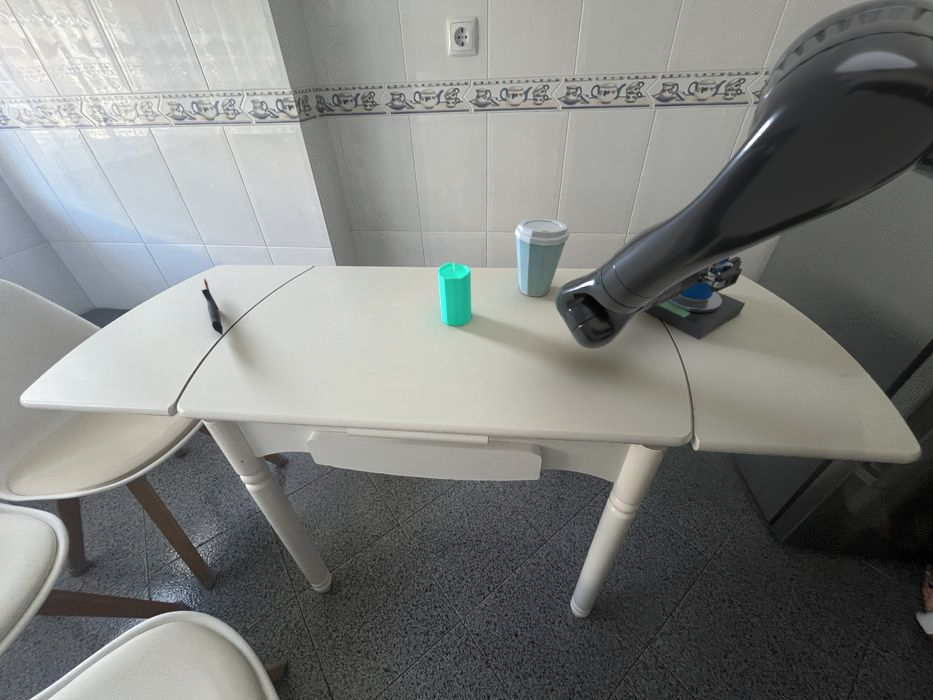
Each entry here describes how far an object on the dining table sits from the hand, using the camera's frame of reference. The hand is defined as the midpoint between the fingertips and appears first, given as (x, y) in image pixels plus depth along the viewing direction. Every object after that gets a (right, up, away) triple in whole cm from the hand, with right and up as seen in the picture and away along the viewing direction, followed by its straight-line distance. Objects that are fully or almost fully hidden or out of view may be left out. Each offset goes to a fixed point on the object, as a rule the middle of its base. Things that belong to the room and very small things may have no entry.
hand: (712, 253), depth 66 cm
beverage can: (-1, -7, +5) cm, 8 cm away
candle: (-47, -11, +7) cm, 49 cm away
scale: (-1, -9, +7) cm, 12 cm away
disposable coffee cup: (-29, -4, +15) cm, 33 cm away
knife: (-98, -9, +11) cm, 99 cm away
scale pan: (-1, -7, +5) cm, 9 cm away
